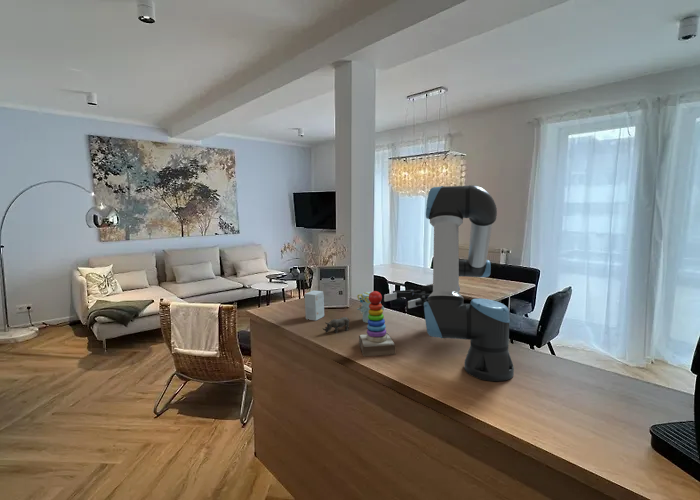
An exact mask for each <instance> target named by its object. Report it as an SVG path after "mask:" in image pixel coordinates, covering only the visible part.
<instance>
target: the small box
mask: <svg viewBox="0 0 700 500" xmlns="http://www.w3.org/2000/svg"><path fill="white" fill-rule="evenodd" d="M324 297H325V296H324V291H323V290H314V289H313V290H311V291H309V292H305V293H304V309H305V310H304V311H305V314H304V315H305V319H306V320H308V319H309V320H310V321H318V320H320V319H321V318H324V317H325V303H324V302H325V299H324ZM309 320H308V321H309Z"/></svg>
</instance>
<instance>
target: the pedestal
mask: <svg viewBox="0 0 700 500" xmlns="http://www.w3.org/2000/svg"><path fill="white" fill-rule="evenodd" d="M386 335H387V339H386V340H385V341H382V342H372V341H369V340H368V339H367V337H366V336H367V333H366V334H360V335H358V345H359V347H360V351H361V353H362V356H363V357H375V356H389V355H396V343H395V342H394V341H393V339H392V337H391V336H390V335H389V333H388V332H386Z"/></svg>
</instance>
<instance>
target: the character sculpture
mask: <svg viewBox="0 0 700 500" xmlns="http://www.w3.org/2000/svg"><path fill="white" fill-rule="evenodd" d="M371 292H372V291H364V292H363V293H362V294H357V296H356V297H357V300H358V301H359V302H360V303H361V304H362V305H361V304H360V305H359V307H357V309H356V310H358V311H360V314H361V315H362V321H363V322H364V323H366V324H368V320H369V318H368V315H369V312H368V311H369V310H370V308H369V305H370V304H371V302H370V301H369V294H370V293H371ZM381 302H382V301H381ZM381 302H380V303H381ZM381 304H382V303H381ZM381 309H382V310H383V312H384V310H385V307H384V305H382V308H381Z"/></svg>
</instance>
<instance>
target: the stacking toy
mask: <svg viewBox="0 0 700 500" xmlns="http://www.w3.org/2000/svg"><path fill="white" fill-rule="evenodd" d="M370 292H371V293H370V294H369V301H370V302H371V304H370V305H369V308H370V310H369V311H368V312H369V315H368V318H369V320H368V323H367V329H366V334H367V336H366V337H367V339H368V340H369V341H372V342H382V341H385V340H386V339H387V335H386V333H387V329H386V328H387V326H386V324H385V323H386V321H385V319H384V318H385V317H384V314H383V312H384V311H383V310H382V309H381V308H382V306H383V305H382V303H380V302H382V299H383V296H382V294H381V292H379V291H377V290H373V291H370Z"/></svg>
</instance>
